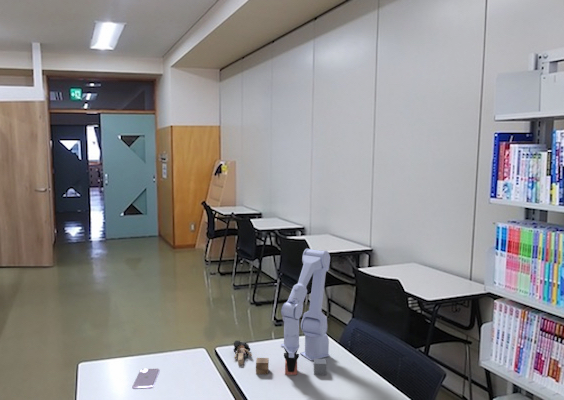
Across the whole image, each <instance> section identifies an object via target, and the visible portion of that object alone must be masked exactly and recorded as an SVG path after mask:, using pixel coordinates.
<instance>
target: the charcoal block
mask: <svg viewBox="0 0 564 400" xmlns="http://www.w3.org/2000/svg"><path fill="white" fill-rule="evenodd" d="M326 360H327V359H326V358H320V359H314V360H313V375H314V376H327V361H326Z"/></svg>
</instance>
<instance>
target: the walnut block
mask: <svg viewBox="0 0 564 400" xmlns="http://www.w3.org/2000/svg"><path fill="white" fill-rule="evenodd" d="M269 361H270V359H269V357H257V358H256V361H255V374H256V375H269V364H270V363H269Z"/></svg>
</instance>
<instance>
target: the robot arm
mask: <svg viewBox="0 0 564 400" xmlns="http://www.w3.org/2000/svg"><path fill="white" fill-rule="evenodd" d="M301 261H302V262H301V263H302V264H303V265H302V268H301V272H300V274H299V278H298V280H297V283H296V284H294V285H293V286H292V289H291V290H290V291H291V292H290V294H289V296H288V299H287V301H286V302H284V303H283V304H282V306H281V310H280V312H281V313H280V314H281V316H282V317H281V318H282V321H283V343H280V348H283V349H284V353H283V357H284V359H286V362H287V368H288V372H294V370H295V365H296V361H297V362H298V359H299V358H300V355H301V356H303V357H304V358H306V359H308V360H309V361H314V359H325V358H326V357H330V353H329V351H330V350H329V349H330V348H329V347H330V346H329V344H330V341H329V337H328V334H327V332H328V317H327V316H326V315H325V314H324V312H322V310H323V301H324V290H325V283H326V274H327V272H328V271H329V269H330V264H331V263H330V262H331V256H330V253H329V251H328V250H318V249H310V248H308V247H307V248H305V249H304V251H303V253H302V259H301ZM311 278H312V281H311V283H312V284H311V290H310V291H311V293H310V299H309V307H308V310H307V311H305V312H304V313H303V311H304V310H303V308H304V301H305V300H306V299H305V298H306V296H307V294H308V289H307V287H308V285H309V283H310V280H311ZM301 318H302V319H301ZM300 319H301V322H300ZM300 330H301V331H302V332H303V336H304V351H302V352H300V355H299V354H298V353H297V352H298V351H299V348H300Z"/></svg>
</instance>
